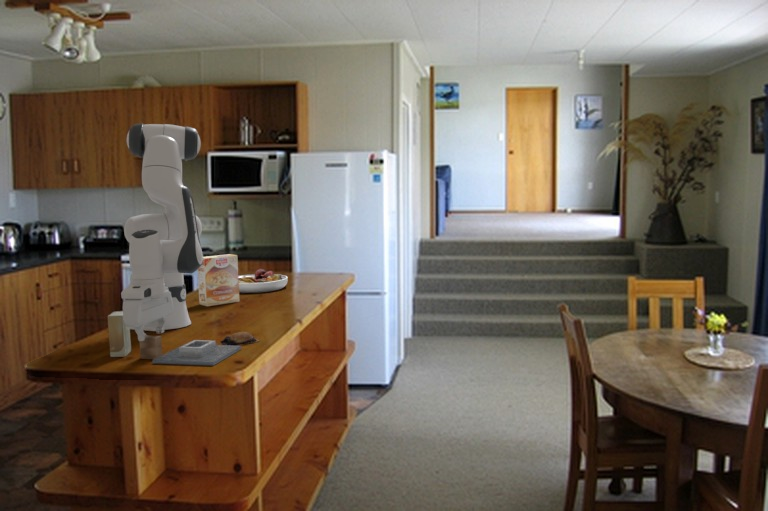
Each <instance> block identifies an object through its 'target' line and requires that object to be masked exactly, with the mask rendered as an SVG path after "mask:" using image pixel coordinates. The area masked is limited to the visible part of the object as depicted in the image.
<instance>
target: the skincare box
mask: <svg viewBox="0 0 768 511" xmlns="http://www.w3.org/2000/svg"><path fill="white" fill-rule="evenodd" d="M107 327H108V328H107V329H108V340H109V355H110V358H119V357H120V358H121V357H123V358H124V357H125V358H126V356H128V355H129V354H130V353H131V352H132V344H131V343H132V342H131V329H130V327H127V326H126V325H125V323H124V318H123V310H119V311H113V312H111V313H110V314H108V315H107Z"/></svg>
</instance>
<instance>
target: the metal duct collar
mask: <svg viewBox="0 0 768 511" xmlns="http://www.w3.org/2000/svg"><path fill="white" fill-rule="evenodd" d="M240 350H242V345H238V346H233V345H223V344H217V340H209V339H208V340H205V339H204V340H203V339H202V340H201V339H194V340H191V341H189V342H187V343H184V344H183V345H180V346H178V347H176V348H175V349H172V350H170V351H168V352H165V353H164V354H162V356H160V357H158V358H156V359H152V364H153V365H154V364H156V365H157V364H158V365H180V366H181V365H183V366H205V367H206V366H207V367H208V366H209V367H210V366H211V367H212V366H216V365H217V364H219V363H221V362H222V361H224V360H227V358H229V357H230V356H232V355H233V354H235V353H237V352H239V351H240Z"/></svg>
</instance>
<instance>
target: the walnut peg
mask: <svg viewBox="0 0 768 511" xmlns="http://www.w3.org/2000/svg"><path fill="white" fill-rule="evenodd" d="M146 337H147V339H146V340H144V341H139V340H138V341H139V355H140V356H139V357H140V359H142V360H145V359H146V360H153V359H156V358H158V357H160V356H162V355H163V349H162V348H163V347H162V336H161V335H146Z"/></svg>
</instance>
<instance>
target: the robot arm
mask: <svg viewBox="0 0 768 511" xmlns="http://www.w3.org/2000/svg"><path fill="white" fill-rule="evenodd" d="M126 145H127V147H128V151H129V153H130V154H131V155H132V156H134V157H138V158H140V159H142V167H141V184H142V188H143V190H144V191H145V193H146V194H147V196H148V199H150V200H151V201H152V202H153V203H155V204H157V205H160V206H162V207H164V212H162V213H147V214H146V213H143V214H138V215H134V216H131V217H129V218H127V221H126V222H125V224H124V227H123V232H124V233H123V234H124V238H125V239H126V241H127V242H128V243H129V247H128V248H129V249H128V252H129V253H128V256H129V257H128V258H129V265H130V269H131V275H130V283H129V284H128V285H127V286H126V287H125V288H124V289H123V290H122V291H121V293H120V295H121V299H122V300H123V302H122V311H123V318H124V323H125V325H126V326H127V327H130V330H134V332H135V333H136V334H137V340H138V341H144V340H146V339H147V337H146V336H147V333H145V331H148V332H156V335H157V334H158V335H159V334H160V335H161V334H163V333H165V331H166V330H174V329H175V330H176V329H180V328H185V327H188V326H190V325H192V321H191V319H190V316H189V315H190V314H189V312H188V306H187V303H186V302H187V301H186V300H187V289H186V284H185V279H184V278H185V277H184V274H191V275H192V274H194V273H195V272H196V271H198V268H199V267H200V266H201V265H202V263H203V257H204V252H203V251H202V250H203V249H202V245H201V241H200V237H201V235H202V232H203V224H202V220H201V219H200V217H199V216H197V214H196V210H195V204H194V200H193V199H194V198H193V196H192V193H191V190H190V189H189V187H187V186H185V185H184V183H183V161H185V162H188V161H190V160H194V159H195V158H196V157H197V156H198V154H199V152H200V150H201V145H202V142H201V138H200V135H199V132H198V130H197V129H196V128H194V127H190V126H188V125H187V126H181V125H175V124H170V123H169V124H168V123H167V124H166V123H163V124H159V123H150V124H149V123H147V124H145V123H135V124H132V126H130V127H129V130H128V132H127V135H126Z"/></svg>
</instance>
